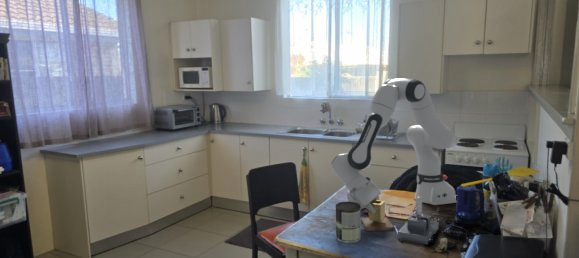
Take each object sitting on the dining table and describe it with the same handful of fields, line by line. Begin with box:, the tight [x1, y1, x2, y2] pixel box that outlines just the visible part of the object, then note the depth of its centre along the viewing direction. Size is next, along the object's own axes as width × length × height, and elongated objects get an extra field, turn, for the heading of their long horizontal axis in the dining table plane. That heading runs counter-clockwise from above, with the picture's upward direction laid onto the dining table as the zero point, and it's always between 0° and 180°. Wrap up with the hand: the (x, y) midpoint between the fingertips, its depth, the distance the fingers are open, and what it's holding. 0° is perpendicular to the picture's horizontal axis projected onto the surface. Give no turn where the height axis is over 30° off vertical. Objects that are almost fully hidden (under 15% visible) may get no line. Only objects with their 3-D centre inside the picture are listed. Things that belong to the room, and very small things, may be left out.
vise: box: [397, 196, 440, 246], centre depth 172 cm, size 18×12×16 cm, turn 147°
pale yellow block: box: [368, 199, 386, 222], centre depth 183 cm, size 5×5×8 cm
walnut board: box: [360, 216, 395, 232], centre depth 184 cm, size 12×12×1 cm
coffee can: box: [335, 201, 362, 244], centre depth 170 cm, size 10×10×14 cm
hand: (378, 209), depth 182 cm, fingers closed on pale yellow block, 5 cm apart
